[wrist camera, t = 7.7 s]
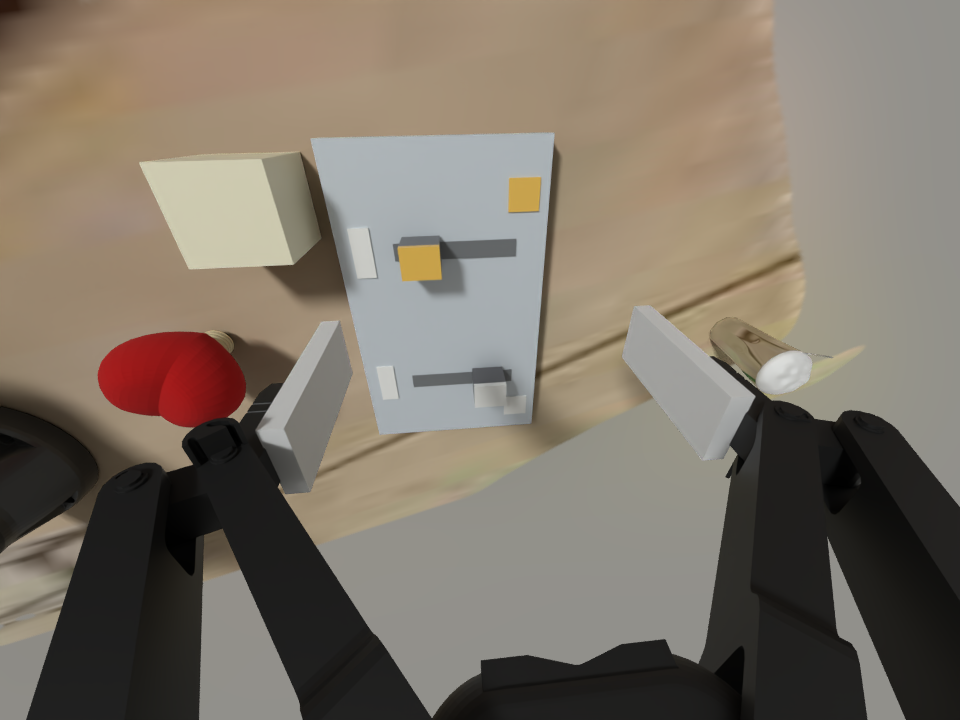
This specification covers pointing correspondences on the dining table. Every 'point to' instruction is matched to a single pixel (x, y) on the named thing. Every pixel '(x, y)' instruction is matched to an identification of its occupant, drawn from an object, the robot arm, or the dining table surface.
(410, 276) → the breaker
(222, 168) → the cap
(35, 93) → the dining table surface
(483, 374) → the breaker
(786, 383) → the milkshake
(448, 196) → the panel
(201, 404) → the light bulb
